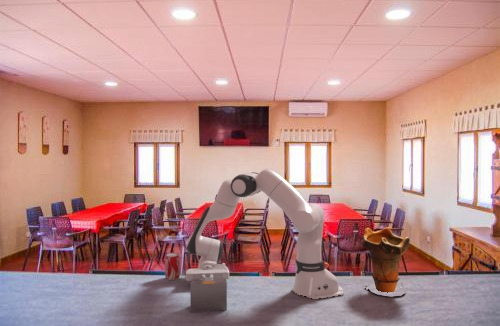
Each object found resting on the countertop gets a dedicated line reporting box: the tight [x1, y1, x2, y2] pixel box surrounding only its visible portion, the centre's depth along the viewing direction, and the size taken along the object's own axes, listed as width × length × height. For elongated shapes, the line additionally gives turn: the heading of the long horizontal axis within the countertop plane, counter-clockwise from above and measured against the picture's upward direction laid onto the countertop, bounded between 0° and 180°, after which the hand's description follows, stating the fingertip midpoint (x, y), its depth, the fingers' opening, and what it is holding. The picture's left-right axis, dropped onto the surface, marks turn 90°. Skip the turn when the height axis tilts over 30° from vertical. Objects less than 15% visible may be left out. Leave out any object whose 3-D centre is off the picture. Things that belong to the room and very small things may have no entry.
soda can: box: [164, 252, 181, 282], centre depth 181 cm, size 7×7×12 cm
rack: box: [189, 278, 228, 313], centre depth 147 cm, size 14×6×12 cm, turn 98°
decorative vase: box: [362, 226, 410, 293], centre depth 166 cm, size 21×23×28 cm
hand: (207, 280), depth 164 cm, fingers closed
